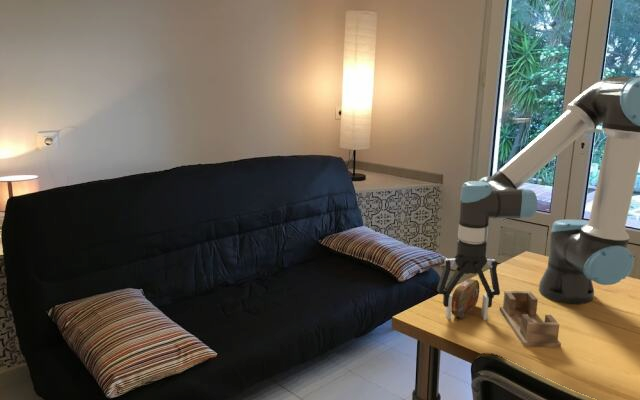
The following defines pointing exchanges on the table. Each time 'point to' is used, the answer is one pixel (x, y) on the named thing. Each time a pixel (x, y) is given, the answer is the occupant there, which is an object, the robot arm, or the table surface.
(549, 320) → the rack
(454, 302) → the tin
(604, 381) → the table surface
